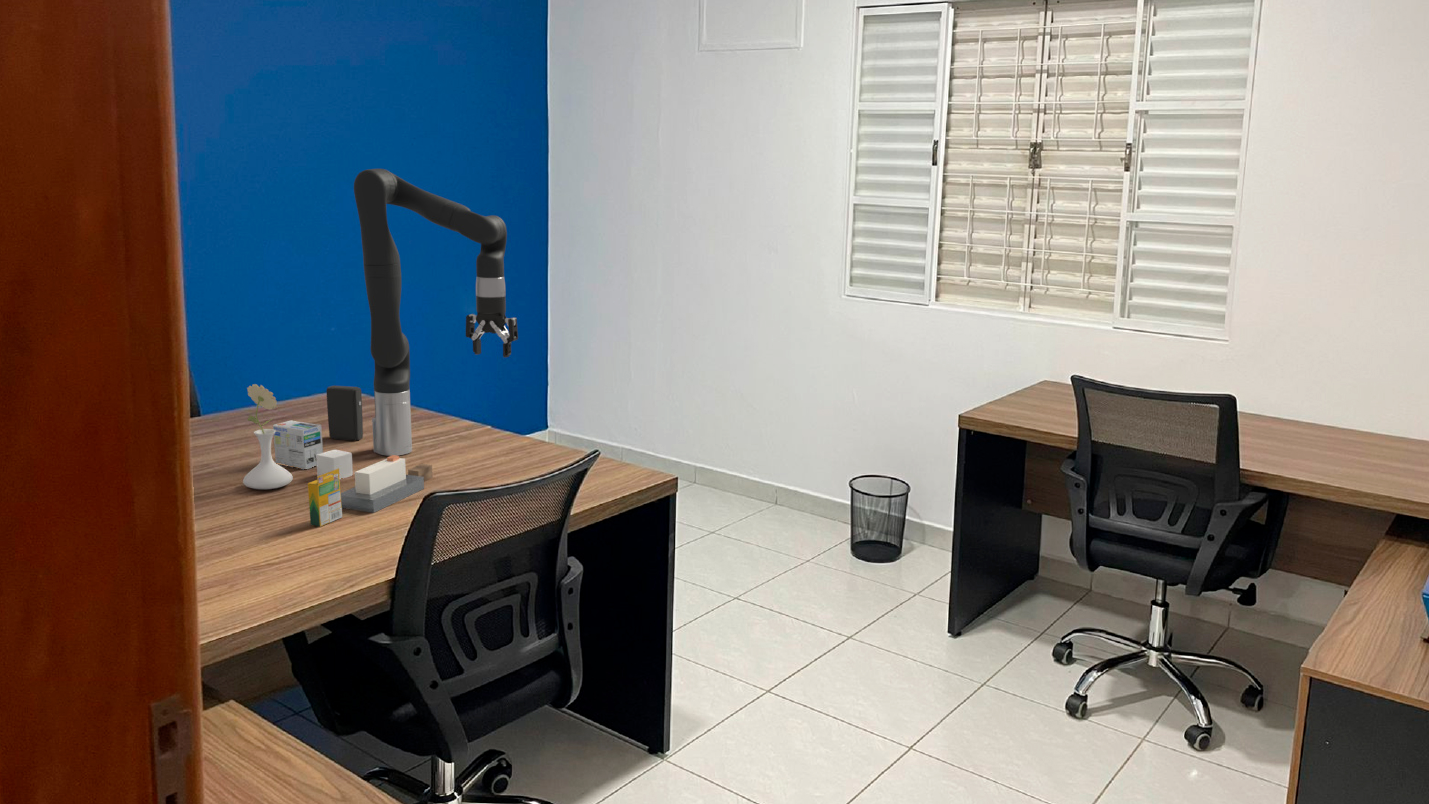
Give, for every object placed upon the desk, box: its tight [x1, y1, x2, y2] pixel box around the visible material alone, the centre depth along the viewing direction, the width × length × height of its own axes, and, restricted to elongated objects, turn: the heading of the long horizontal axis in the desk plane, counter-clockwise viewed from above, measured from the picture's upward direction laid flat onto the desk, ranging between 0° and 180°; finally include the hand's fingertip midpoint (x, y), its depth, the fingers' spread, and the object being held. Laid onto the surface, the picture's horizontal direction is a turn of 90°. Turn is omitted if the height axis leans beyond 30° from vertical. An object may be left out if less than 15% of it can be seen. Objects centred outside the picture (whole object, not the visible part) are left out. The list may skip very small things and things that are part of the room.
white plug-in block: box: [354, 455, 407, 495], centre depth 271 cm, size 14×4×9 cm, turn 160°
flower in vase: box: [242, 383, 294, 490], centre depth 277 cm, size 13×11×25 cm
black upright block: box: [326, 385, 364, 441], centre depth 322 cm, size 9×4×15 cm, turn 80°
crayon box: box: [307, 468, 343, 528], centre depth 254 cm, size 7×3×12 cm, turn 157°
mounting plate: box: [341, 474, 425, 514], centre depth 272 cm, size 20×10×3 cm, turn 160°
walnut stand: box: [407, 463, 433, 482], centre depth 287 cm, size 6×3×3 cm, turn 160°
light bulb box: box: [272, 419, 324, 470], centre depth 297 cm, size 11×7×11 cm, turn 65°
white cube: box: [316, 449, 354, 480], centre depth 288 cm, size 6×6×6 cm
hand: (492, 355), depth 300 cm, fingers open, 8 cm apart
